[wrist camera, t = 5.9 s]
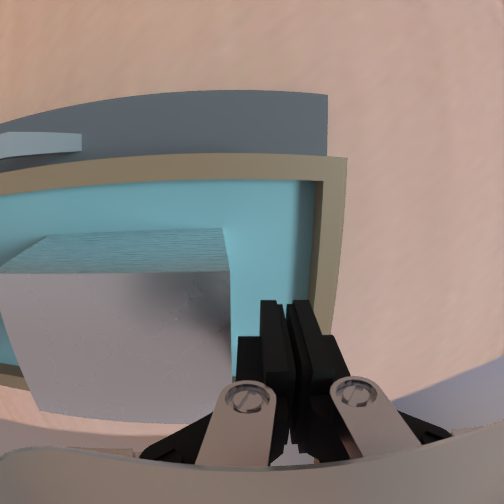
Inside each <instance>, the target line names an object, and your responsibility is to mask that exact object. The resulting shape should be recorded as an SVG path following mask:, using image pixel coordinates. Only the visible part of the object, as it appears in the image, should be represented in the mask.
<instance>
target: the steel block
mask: <svg viewBox="0 0 504 504" xmlns="http://www.w3.org/2000/svg"><path fill="white" fill-rule="evenodd" d="M0 312H1V316H2V319H3V322H4V325H5V328H6V331H7V334H8V337H9V340H10V343H11V345H12V348H13V351H14V354H15V356H16V359H17V361H18V364H19V366H20V369H21V371H22V373H23V376H24V378H25V380H26V383H27V385H28V387H29V389H30V392H31V394H32V396H33V398H34V400H35V402H36V404H37V406H38V408H39V410H40V411H45V412H51V413H56V414H63V415H69V416H76V417H84V418H92V419H101V420H111V421H123V422H139V423H164V424H192V423H194V422H196V421H197V420H199V419H201V418H203V417H204V416H206V415H208V414H210V413H211V412H213V411H214V408H215V406H216V403H217V400H218V397H219V394H220V393H221V391H222V389H224V388H225V387H226V386H227V385H229V384H231V383H232V354H231V299H230V267H229V262H228V256H227V251H226V245H225V239H224V234H223V228H211V229H173V230H142V231H115V232H92V233H71V234H51V235H49V236H47V237H46V238H44V239H42V240H41V241H39V242H38V243H36V244H34V245H33V246H31V247H30V248H28V249H26V250H25V251H23V252H22V253H20V254H19V255H17V256H16V257H14V258H13V259H11V260H10V261H8V262H7V263H5V264H4V265H2V266H1V267H0Z"/></svg>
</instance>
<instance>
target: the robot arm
mask: <svg viewBox="0 0 504 504" xmlns="http://www.w3.org/2000/svg"><path fill="white" fill-rule="evenodd" d="M289 428H290V435H291V442H292V444H298V449H299V453H308V454H309V455H311V456H313V457H314V464H308V465H293V466H292V465H291V466H270V464H271V463H272V462H273V461H274V460H275V459H277V458H278V457H279V456H280V455H281V454H283V450H284V445H286V444H287V441H288V435H289ZM0 504H504V419H503V420H500V421H497V422H494V423H492V424H489V425H486V426H481V427H473V428H463V429H452V430H451V432H450V433H449V432H447V431H446V430H444V429H443V428H441V427H438V426H435V425H433V424H430V423H428V422H425V421H422V420H420V419H417V418H415V417H412V416H410V415H407V414H405V413H402V412H400V411H398V410H396V409H395V407H394V406H393V404H392V403H391V402H390V400H389V399H388V398H387V396H386V395H385V394H384V392H383V391H382V389H381V388H380V387H379V386H378V385H377V384H376V383H375V382H373V381H371V380H370V379H367V378H364V377H358V376H351V375H350V373H349V371H348V368H347V366H346V363H345V361H344V359H343V356H342V354H341V352H340V349H339V347H338V345H337V342H336V340H335V338H334V336H333V335H322V332H321V330H320V327H319V325H318V322H317V319H316V317H315V314H314V311H313V309H312V306H311V304H310V301H309V300H293V301H292V304H287V306H286V318H285V314H284V309H283V304H277V301H276V300H260V332H259V336H238V346H237V363H236V381H235V382H234V383H231V384H229V385H227V386H226V387H225V388H224V389H222V391H221V393H220V394H219V397H218V400H217V403H216V406H215V408H214V411H213V412H211V413H210V414H208V415H206V416H204V417H203V418H201V419H199V420H197V421H196V422H194V423H192V424H190V425H188V426H187V427H185V428H183V429H181V430H179V431H177V432H175V433H174V434H172V435H170V436H168V437H166V438H164V439H162V440H160V441H158V442H156V443H154V444H152V445H150V446H149V447H148V448H146V449H145V450H144V451H143V452H134V451H133V449H105V448H81V447H53V446H43V447H25V448H19V449H14V450H11V451H9V452H7V453H5V454H4V455H2V456H1V457H0Z"/></svg>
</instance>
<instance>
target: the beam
mask: <svg viewBox="0 0 504 504" xmlns="http://www.w3.org/2000/svg"><path fill="white" fill-rule="evenodd" d="M346 176H347V158H342V157H329V156H314V155H295V154H267V153H192V154H165V155H146V156H131V157H118V158H107V159H96V160H86V161H77V162H69V163H61V164H54V165H46V166H40V167H33V168H27V169H21V170H15V171H9V172H4V173H0V267H1V266H2V265H4V264H5V263H7V262H8V261H10V260H11V259H13V258H14V257H16V256H17V255H19V254H20V253H22V252H23V251H25V250H26V249H28V248H30V247H31V246H33V245H34V244H36V243H38V242H39V241H41V240H42V239H44V238H46V237H47V236H49V235H51V234H71V233H92V232H115V231H142V230H173V229H211V228H223V234H224V239H225V245H226V251H227V256H228V262H229V267H230V299H231V354H232V383H234V382H235V381H236V363H237V346H238V336H259V332H260V300H276V301H277V304H283V309H284V314H285V318H286V306H287V304H292V301H293V300H309V301H310V304H311V306H312V309H313V311H314V314H315V317H316V319H317V322H318V325H319V327H320V330H321V332H322V335H330V333H331V326H332V320H333V313H334V305H335V298H336V290H337V282H338V273H339V264H340V254H341V244H342V233H343V222H344V208H345V194H346ZM0 385H3V386H8V387H12V388H17V389H22V390H28V391H30V389H29V387H28V385H27V383H26V380H25V378H24V376H23V373H22V371H21V369H20V366H19V364H18V361H17V359H16V356H15V354H14V351H13V348H12V345H11V343H10V340H9V337H8V334H7V331H6V328H5V325H4V322H3V319H2V316H1V312H0Z"/></svg>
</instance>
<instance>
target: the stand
mask: <svg viewBox="0 0 504 504" xmlns="http://www.w3.org/2000/svg"><path fill="white" fill-rule="evenodd" d="M327 123H328V95H324V94H313V93H301V92H285V91H261V90H212V91H188V92H172V93H160V94H149V95H140V96H131V97H123V98H116V99H109V100H103V101H96V102H90V103H85V104H79V105H74V106H69V107H64V108H60V109H55V110H51V111H46V112H42V113H38V114H34V115H30V116H26V117H23V118H19V119H16V120H12V121H9V122H5V123H2V124H0V173H4V172H9V171H15V170H21V169H27V168H33V167H40V166H46V165H54V164H61V163H69V162H77V161H86V160H96V159H107V158H118V157H131V156H146V155H165V154H192V153H267V154H295V155H314V156H327Z"/></svg>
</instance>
